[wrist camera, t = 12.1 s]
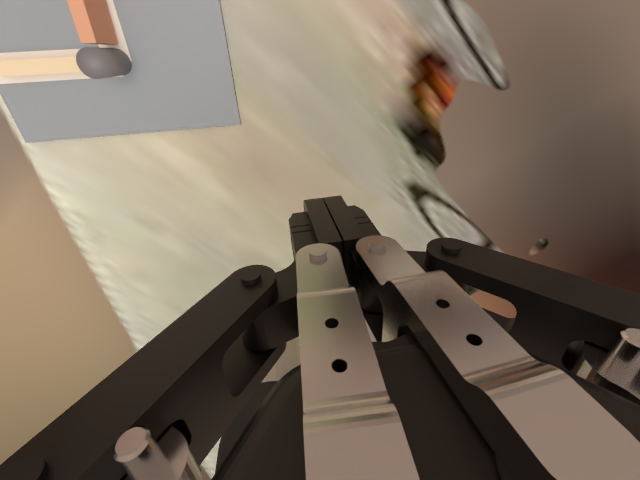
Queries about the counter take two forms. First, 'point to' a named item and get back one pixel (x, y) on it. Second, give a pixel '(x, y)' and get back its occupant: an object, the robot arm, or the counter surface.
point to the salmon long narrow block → (93, 21)
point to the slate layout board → (140, 97)
